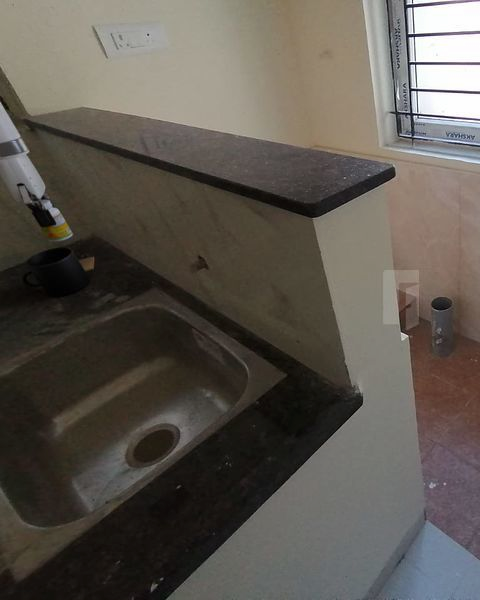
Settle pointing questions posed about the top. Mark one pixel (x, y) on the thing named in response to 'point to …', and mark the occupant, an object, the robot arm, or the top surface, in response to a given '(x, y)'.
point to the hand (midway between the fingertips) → (50, 220)
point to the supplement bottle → (58, 230)
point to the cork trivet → (87, 263)
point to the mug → (57, 272)
